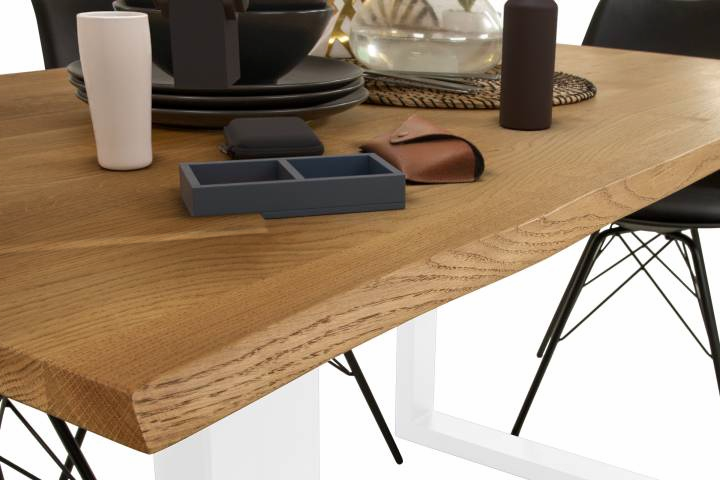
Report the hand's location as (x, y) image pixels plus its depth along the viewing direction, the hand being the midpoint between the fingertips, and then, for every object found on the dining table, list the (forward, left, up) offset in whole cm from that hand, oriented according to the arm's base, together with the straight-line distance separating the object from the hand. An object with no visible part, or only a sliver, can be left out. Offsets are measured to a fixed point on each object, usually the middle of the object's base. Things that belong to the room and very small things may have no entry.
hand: (198, 10), depth 67 cm
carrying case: (+11, +38, -18) cm, 44 cm away
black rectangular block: (+1, +2, -5) cm, 5 cm away
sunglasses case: (+25, +29, -18) cm, 43 cm away
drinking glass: (-4, +36, -18) cm, 40 cm away
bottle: (+46, +47, -18) cm, 68 cm away
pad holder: (+9, +17, -18) cm, 26 cm away
